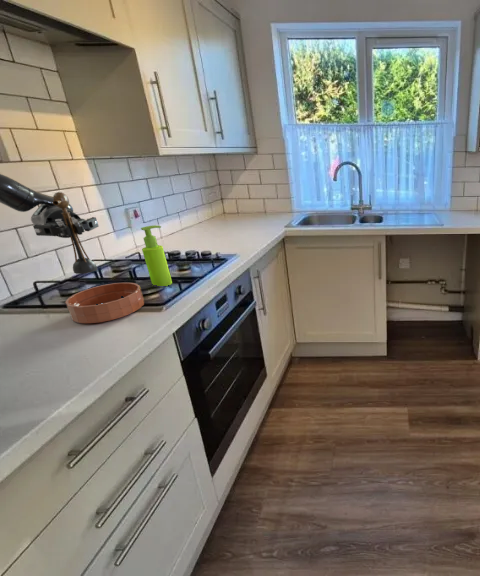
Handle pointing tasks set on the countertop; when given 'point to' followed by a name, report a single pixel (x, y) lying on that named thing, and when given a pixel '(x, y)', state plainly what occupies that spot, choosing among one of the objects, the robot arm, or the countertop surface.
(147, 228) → the soap dispenser
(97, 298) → the bowl
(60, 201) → the wooden tabletop sculpture
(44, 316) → the countertop surface
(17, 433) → the countertop surface
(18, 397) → the countertop surface
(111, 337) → the countertop surface
